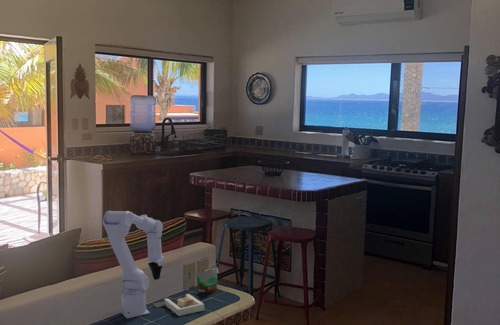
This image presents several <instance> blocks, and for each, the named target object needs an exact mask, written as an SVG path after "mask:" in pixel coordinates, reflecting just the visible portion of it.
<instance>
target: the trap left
mask: <svg viewBox="0 0 500 325" xmlns="http://www.w3.org/2000/svg"><path fill="white" fill-rule="evenodd" d="M151 305H152V306H154V307H155V309H159V308H163V307H167V306H166V305H165V302H164V301H158V302H153V303H151Z"/></svg>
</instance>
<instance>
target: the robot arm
mask: <svg viewBox="0 0 500 325" xmlns="http://www.w3.org/2000/svg"><path fill="white" fill-rule="evenodd" d="M132 224H133V225H135V226H136V228H137V229H139V230H142V231H143V232H144V233H145V234H146V241H147V261H149V262H148V263H147V264H148V266H149V268H150V271H151V274H152V277H153V279H154V281H156V280H160V278H161V273H162V269H163V267H164V259H165V258H166V256H164V255H163V250H162V239H161V238H162V236H163V228H164V226H163V225H164V224H163V223H162V221H160V219H154V218H153V217H148V215H147V214H142V215H137V214H135V213H133V212H132V211H130V210H125V211H123V210H122V211H121V210H120V211H119V210H118V211H117V210H115V211H114V210H107V211H106V212H105V213H104V215H103V220H102V225H103V227H104V229H105V232H106V234H107V237H108V238H107V239H108V241H109V243H110V246H111V248H112V250H113V252H114V255H115V257H116V260H117V262H118V264H119V266H120V268H121V269H122V273H121V275H120V281H121V282H120V284H121V286H122V287H121V288H122V289H123V290H124V293H122V294H121V295H120V301H121V302H120V303H121V304H120V305H121V315H123V316H124V317H125V318H126V319H131V318H135V317H140V316H143V315H144V316H145V315H149V314H151V312H150V311H149V310H148V309H147V298H146V291H147V290H148V289H149V287H150V279H149V276H148V275H146V273H145V271H143V270H141V269H139V268H138V267H137V264H136V262H135V260H134V258H133V255H132V253H131V251H130V250H131V249H130V248H129V246H128V243H127V241H126V239H125V237H127V236H128V235H129V231H130V229H131V227H132Z"/></svg>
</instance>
